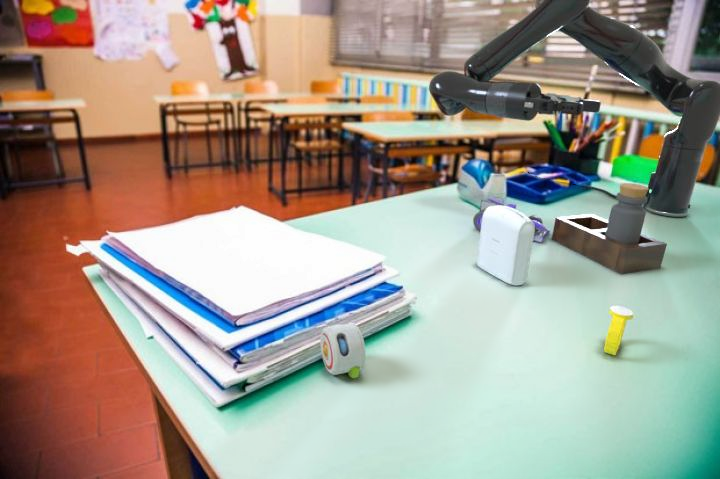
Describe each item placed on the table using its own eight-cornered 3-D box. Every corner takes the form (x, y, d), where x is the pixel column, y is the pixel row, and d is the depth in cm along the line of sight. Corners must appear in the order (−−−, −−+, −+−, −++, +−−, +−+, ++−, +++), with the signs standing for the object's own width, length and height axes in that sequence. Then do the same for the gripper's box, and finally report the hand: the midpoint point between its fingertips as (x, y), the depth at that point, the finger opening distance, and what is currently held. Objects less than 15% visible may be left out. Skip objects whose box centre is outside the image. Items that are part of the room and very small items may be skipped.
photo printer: (472, 265, 91) (480, 201, 87) (490, 261, 93) (499, 199, 89) (510, 288, 83) (522, 218, 78) (529, 284, 85) (542, 215, 80)
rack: (551, 239, 106) (555, 217, 104) (587, 235, 110) (591, 214, 108) (621, 274, 90) (627, 249, 88) (660, 268, 93) (667, 243, 92)
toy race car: (540, 245, 102) (545, 215, 100) (471, 230, 110) (475, 202, 108) (550, 232, 110) (556, 205, 108) (486, 219, 118) (489, 193, 115)
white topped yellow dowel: (618, 363, 63) (629, 323, 61) (595, 356, 65) (605, 316, 63) (626, 343, 68) (636, 305, 66) (604, 336, 69) (614, 299, 67)
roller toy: (331, 388, 56) (332, 344, 54) (314, 357, 62) (315, 317, 60) (366, 380, 58) (369, 337, 56) (347, 351, 64) (348, 311, 61)
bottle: (594, 254, 99) (610, 181, 93) (621, 254, 99) (639, 182, 94) (610, 266, 93) (628, 190, 88) (639, 266, 94) (659, 190, 88)
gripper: (498, 82, 98) (580, 88, 87) (531, 81, 107) (608, 86, 97) (493, 120, 100) (572, 131, 90) (526, 116, 110) (600, 125, 99)
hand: (591, 108), depth 93 cm, fingers open, 8 cm apart
